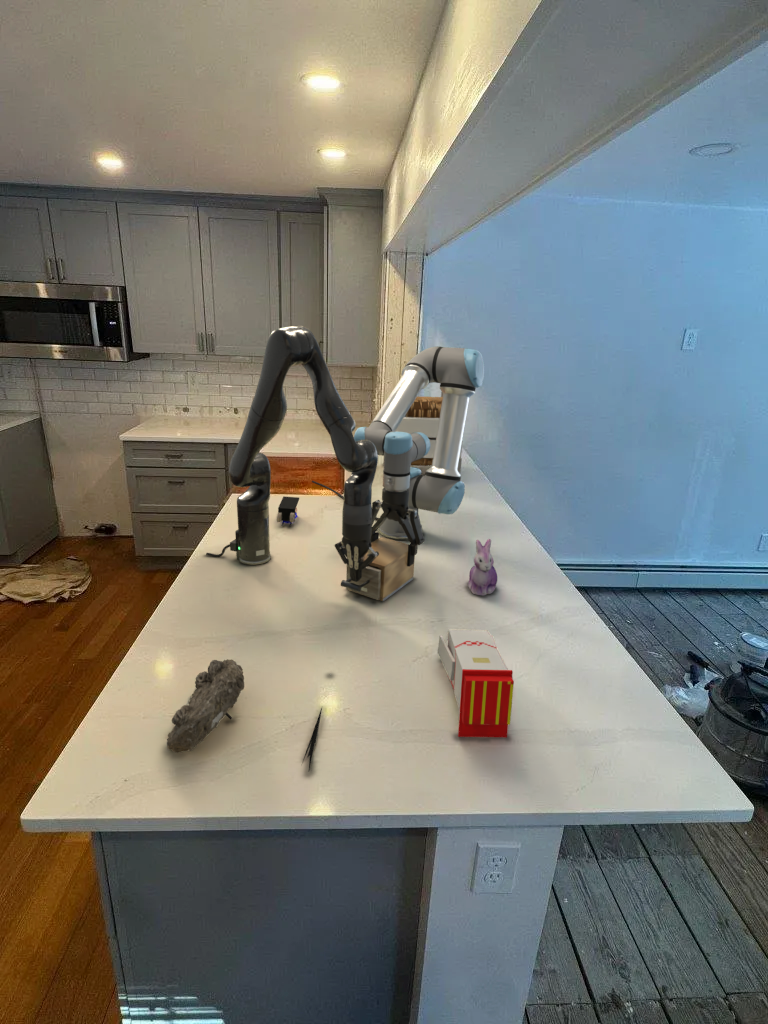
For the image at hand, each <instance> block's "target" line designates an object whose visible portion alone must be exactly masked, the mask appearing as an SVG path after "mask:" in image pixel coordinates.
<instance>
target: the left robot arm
mask: <svg viewBox="0 0 768 1024" xmlns="http://www.w3.org/2000/svg"><path fill="white" fill-rule="evenodd" d="M264 350H265V351H264V356H263V361H262V366H261V370H260V371H261V372H260V375H259V379H258V383H257V386H256V389H255V393H254V397H253V399H252V401H251V404H250V408H249V411H248V414H247V418H246V422H245V425H244V428H243V430H242V434H241V436H240V439H239V441H238V443H237V445H236V447H235V449H234V451H233V452H234V453H233V454H232V456H231V458H230V460H229V466H228V477H229V480H230V482H231V483H232V484H233V486H234V487H238V488H247V487H248V488H247V489H246V490H245V491H244V492H243V493H242V494H241V493H240V495H238V497H237V499H236V514H237V515H236V516H237V530H235V532H234V534H235V538H234V539H233V540H232V541H230V542H229V544H226V545H225V546H224V547H223V548H222V550H221V553H219V554H218V553H217V554H216V553H211V552H206V553H205V556H209V557H213V558H219V557H222V556H224V554H225V551H226V550H227V549H228V548H229V550H230V552H235V553H236V554H235V555H236V561H239V562H240V563H242V564H245V565H249V566H256V565H257V566H258V565H262V564H266V563H268V562H269V561H270V560H271V548H270V547H271V542H270V541H271V540H270V512H269V511H270V508H269V507H270V506H269V501H270V499H271V484H272V483H271V479H272V477H271V476H272V472H271V471H272V470H271V463H270V460H269V458H268V457H267V455H266V454H264V453H263V452H261V450H262V449H263V448H264V447H265V446H267V445H268V444H269V442H271V441H272V440H273V438H275V437H276V435H277V434H278V433H279V432H280V430H281V428H282V426H283V423H284V420H285V418H286V414H287V411H288V403H287V402H288V401H287V398H286V395H285V391H284V383H285V380H286V377H287V375H288V373H289V370H290V369H291V368H292V367H296V366H300V365H301V366H302V367H303V368H304V370H305V371H306V373H307V374H308V376H309V378H310V382H311V384H312V389H313V390H312V391H313V402H314V408H315V411H316V414H317V416H318V418H319V420H320V421H321V423H322V425H323V427H324V428H325V430H326V432H327V433H328V435H329V438H330V442H331V444H332V447H333V448H332V449H333V451H334V454H335V457H336V459H337V462H338V464H339V465H340V467H342V469H344V470H345V471H347V472H349V473H351V475H350V476H349V477H348V478H347V479H346V480H345V481H344V483H343V497H344V499H343V505H342V510H341V511H342V516H341V517H342V518H341V519H342V521H341V524H342V525H341V530H342V531H341V535H342V538H341V541H339V542H336V543H335V544H334V548H335V550H336V552H337V554H338V555H339V557H340V559H341V560H342V562H343V564H345V565H347V564H348V565H349V567H350V578H351V580H352V581H355V582H357V581H359V580H360V579H361V577H362V569H364V568H365V567H367V566H369V565H370V564H371V563H372V561H373V560H374V559H375V558H376V557H377V556H378V555H379V553H378V552H377V551H376V552H375V551H374V550H373V549H372V548H371V547H372V544H371V541H370V538H371V532H372V526H373V525H372V496H373V495H372V493H373V491H372V489H373V488H372V487H373V483H374V480H375V477H376V472H377V468H378V463H379V455H378V453H377V449H376V447H375V445H374V444H373V443H372V442H371V441H369V440H359V441H355V439H354V434H353V432H354V431H355V429H356V427H357V425H356V421H355V419H354V418H353V416H352V415H351V413H350V411H349V409H348V407H347V405H346V404H345V403H344V400H342V397H341V395H340V393H339V392H338V389H337V387H336V385H335V383H334V381H333V378H332V375H331V373H330V370H329V367H328V365H327V363H326V360H325V358H324V356H323V353H322V351H321V347H320V345H319V343H318V341H317V339H316V337H315V335H314V334H313V332H312V331H311V329H310V328H308V327H306V326H305V325H292V326H285V327H279V328H276V329H274V330H272V332H271V333H270V335H269V336H268V338H267V342H266V346H265V349H264ZM367 552H368V554H367V557H368V558H367V559H366V560H365V561H364V559H365V554H366V553H367Z"/></svg>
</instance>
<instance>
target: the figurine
mask: <svg viewBox="0 0 768 1024" xmlns="http://www.w3.org/2000/svg"><path fill="white" fill-rule="evenodd" d="M491 547H492V539H491V538H488V539H487V540H486V541H485V543H484V545H483V544H482V542H481V541H480V540H479V539H476V540H475V549H476V551H475V552H476V553H475V556H474V558H473V563H474V566H472V567H471V568H470V570H469V575H468V579H469V580H468V583H467V587H468V589H469V591H471V593H472V594H473V595H476V596H486V595H490V594H493V592H494V591H496V588H497V583H498V574H497V570H496V568H495V567H494V563H495V562H494V561H495V560H494V556H493V555H492V553H491Z"/></svg>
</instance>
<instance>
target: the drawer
mask: <svg viewBox="0 0 768 1024" xmlns="http://www.w3.org/2000/svg"><path fill="white" fill-rule="evenodd" d="M345 578H346V580H344V579H343V580H341V582H340V586H341V587H343V588H345V590H346V591H350V592H353V593H355V594H358V595H361V596H364V597H367V598H370V599H373V600H376V601H379V600H378V599H380V591H381V568H378V567H374V566H371V565H369V566H367V567H365V568H364V569H362V577H361V579H360V580H359V581H357V582H355V581H352V580H351V578H350V567H349V565H348V564H346V577H345Z"/></svg>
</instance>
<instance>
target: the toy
mask: <svg viewBox="0 0 768 1024" xmlns="http://www.w3.org/2000/svg"><path fill="white" fill-rule="evenodd" d="M446 640H447V643H446V641H445V639H444V636H443V635H442V634H439V637H438V646H437V656H438V657H439V659H440V661H441V663H442V666H443V668H444V670H445V672H446V674H447V677H448V679H449V681H450V684H451V687H452V690H453V693H454V697H455V701H456V705H457V708H458V711H459V714H458V715H459V716H458V730H457V731H458V732H457V737H458V738H508V731H509V726H510V725H511V717H512V707H513V697H514V696H513V695H514V684H515V680H514V679H513V673H514V671H513V670H512V669H508V667H507V665H506V662H505V661H504V659H503V658H502V655H501V653H500V651H499V649H498V647H497V643H496V639H495V637H494V635H493V634H491V632H490V631H489V629H467V628H466V629H465V628H463V629H461V628H460V629H459V628H448V630H447V639H446Z"/></svg>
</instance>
